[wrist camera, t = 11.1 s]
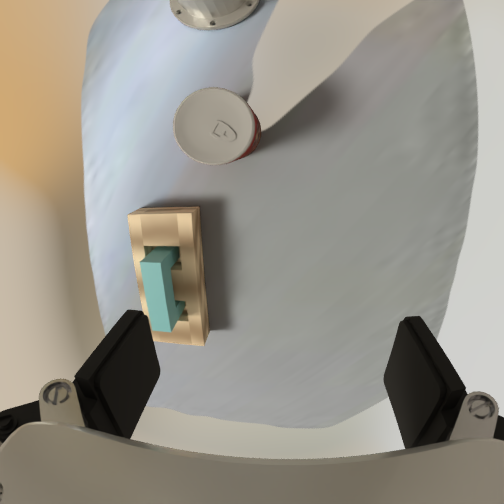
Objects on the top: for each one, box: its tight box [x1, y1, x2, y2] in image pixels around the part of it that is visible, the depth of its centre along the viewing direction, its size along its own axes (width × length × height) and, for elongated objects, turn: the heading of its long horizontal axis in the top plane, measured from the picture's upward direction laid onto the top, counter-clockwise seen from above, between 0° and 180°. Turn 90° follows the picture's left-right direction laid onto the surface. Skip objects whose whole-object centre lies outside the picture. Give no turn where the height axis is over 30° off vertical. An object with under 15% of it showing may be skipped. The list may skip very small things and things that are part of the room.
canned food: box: [173, 87, 261, 165], centre depth 31 cm, size 8×8×11 cm
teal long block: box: [140, 246, 185, 332], centre depth 39 cm, size 10×3×7 cm, turn 0°
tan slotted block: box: [128, 207, 210, 346], centre depth 42 cm, size 20×9×4 cm, turn 1°
